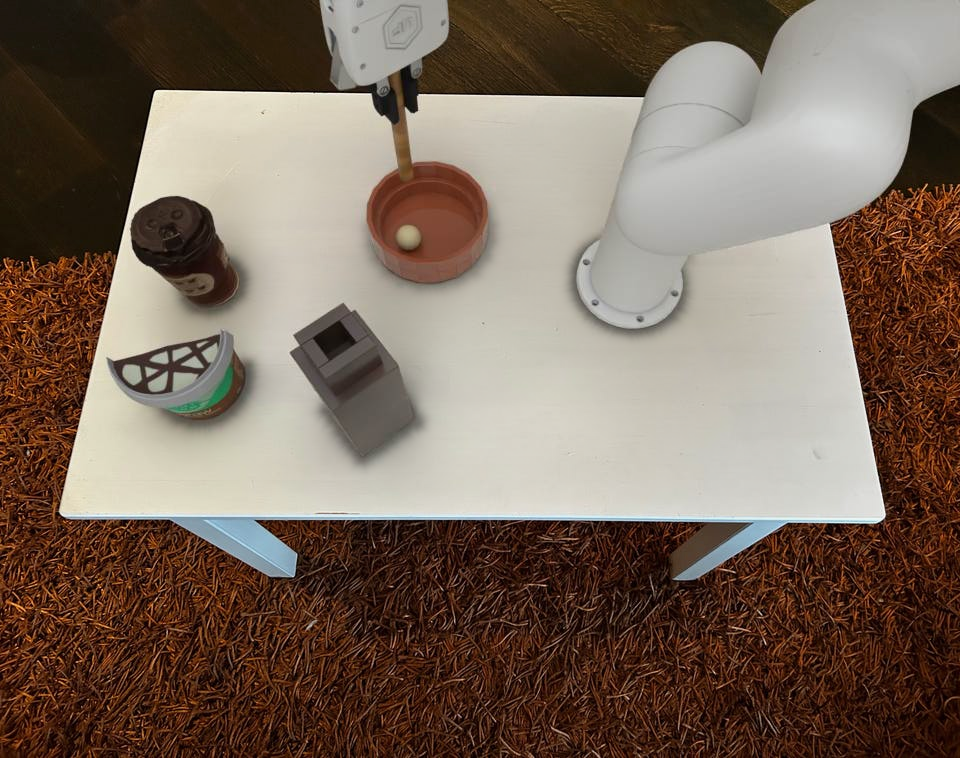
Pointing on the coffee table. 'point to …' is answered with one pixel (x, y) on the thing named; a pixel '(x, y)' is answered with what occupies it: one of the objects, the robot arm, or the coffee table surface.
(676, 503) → the coffee table surface
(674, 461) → the coffee table surface
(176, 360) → the food container
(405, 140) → the stick
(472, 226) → the bowl
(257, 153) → the coffee table surface
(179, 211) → the coffee cup
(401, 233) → the dough ball
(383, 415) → the holder
